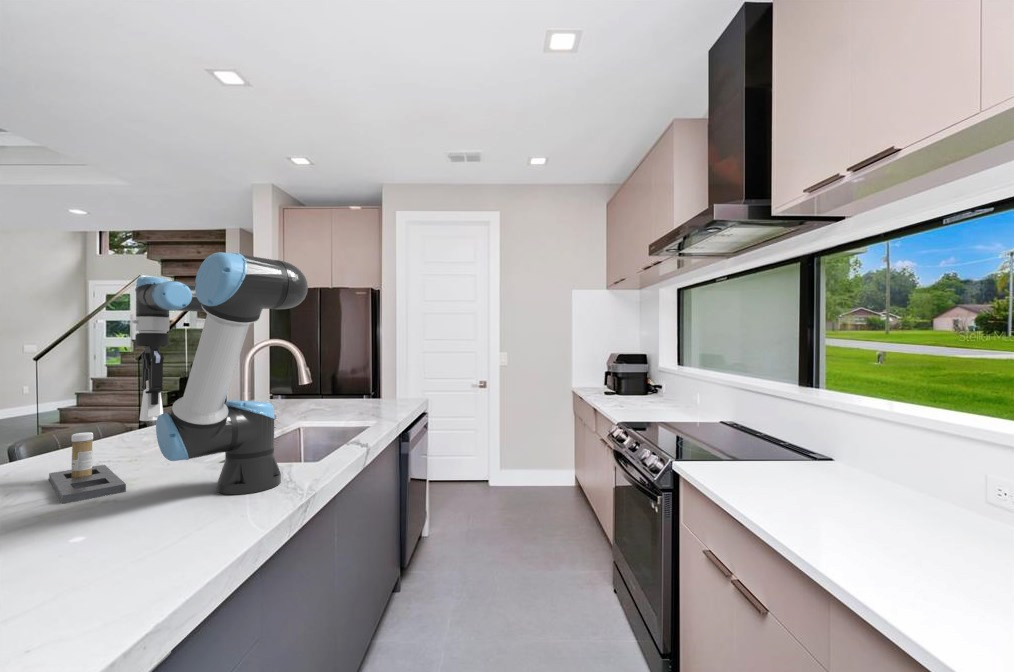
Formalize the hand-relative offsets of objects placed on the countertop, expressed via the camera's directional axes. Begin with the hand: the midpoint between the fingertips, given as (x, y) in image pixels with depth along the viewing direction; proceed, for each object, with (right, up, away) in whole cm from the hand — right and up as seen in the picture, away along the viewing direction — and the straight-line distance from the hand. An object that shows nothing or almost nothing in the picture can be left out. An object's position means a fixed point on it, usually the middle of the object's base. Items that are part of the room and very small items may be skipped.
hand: (151, 415), depth 129 cm
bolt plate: (-15, -19, -3) cm, 24 cm away
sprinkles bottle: (-21, -19, +1) cm, 28 cm away
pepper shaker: (0, -1, 0) cm, 1 cm away
